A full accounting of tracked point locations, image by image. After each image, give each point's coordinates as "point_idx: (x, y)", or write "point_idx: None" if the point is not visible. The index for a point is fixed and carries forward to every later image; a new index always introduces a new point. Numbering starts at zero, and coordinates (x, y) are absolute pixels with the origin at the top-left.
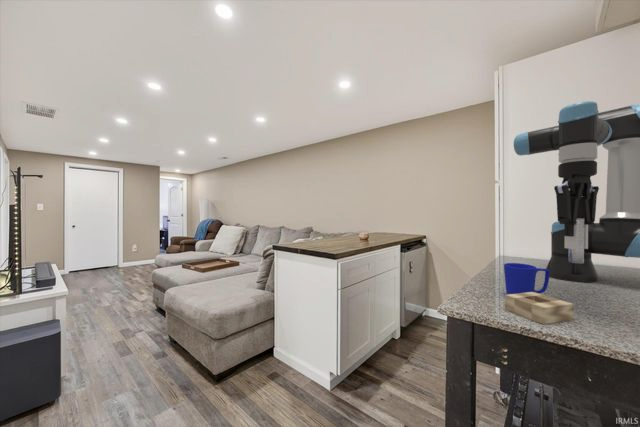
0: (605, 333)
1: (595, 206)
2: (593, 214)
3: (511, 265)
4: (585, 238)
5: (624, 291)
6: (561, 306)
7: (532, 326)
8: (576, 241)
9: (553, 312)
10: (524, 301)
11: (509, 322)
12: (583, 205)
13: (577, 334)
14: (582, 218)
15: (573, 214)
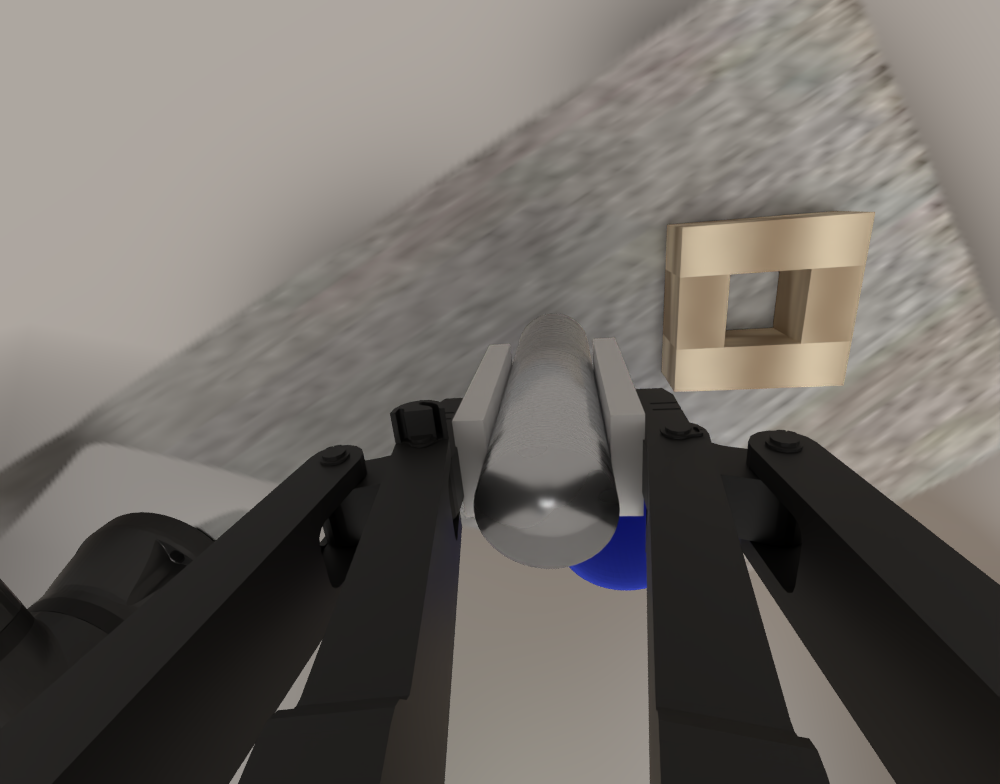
0: (701, 95)
1: (184, 578)
2: (304, 494)
3: (609, 574)
4: (502, 372)
5: (141, 409)
6: (756, 221)
7: (898, 204)
8: (619, 356)
9: (798, 216)
10: (859, 296)
11: (942, 254)
12: (428, 623)
13: (816, 108)
14: (524, 464)
15: (722, 491)
